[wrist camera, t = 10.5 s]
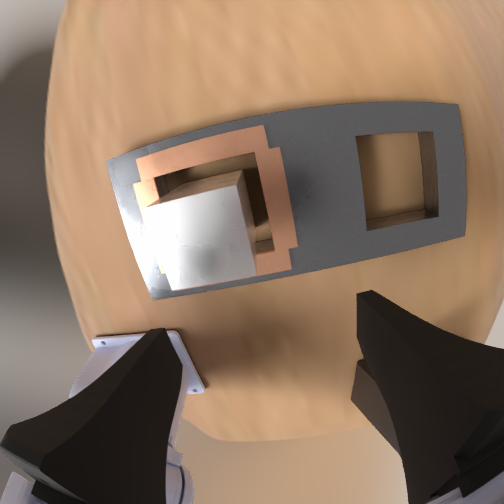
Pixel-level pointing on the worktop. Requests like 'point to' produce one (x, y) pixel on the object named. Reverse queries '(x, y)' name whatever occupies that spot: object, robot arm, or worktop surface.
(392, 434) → the phone stand
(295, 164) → the rail plate
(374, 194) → the worktop surface
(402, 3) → the worktop surface
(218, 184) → the block
